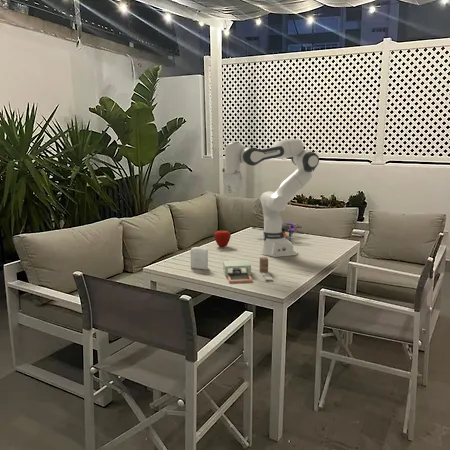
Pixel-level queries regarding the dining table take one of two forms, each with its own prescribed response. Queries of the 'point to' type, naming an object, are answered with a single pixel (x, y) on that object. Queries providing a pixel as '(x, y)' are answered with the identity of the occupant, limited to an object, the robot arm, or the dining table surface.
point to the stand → (236, 266)
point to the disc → (236, 271)
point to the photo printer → (199, 258)
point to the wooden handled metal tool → (265, 269)
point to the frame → (240, 280)
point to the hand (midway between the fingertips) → (233, 193)
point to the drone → (285, 229)
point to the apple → (222, 238)
